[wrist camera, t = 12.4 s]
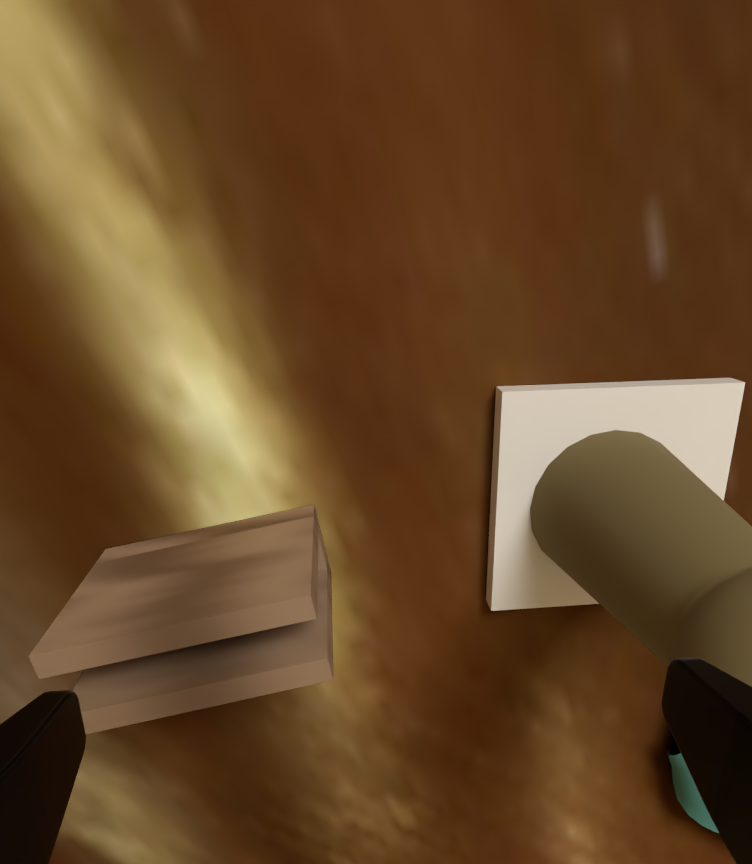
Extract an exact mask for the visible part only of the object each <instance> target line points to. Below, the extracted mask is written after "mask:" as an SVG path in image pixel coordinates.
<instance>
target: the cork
mask: <svg viewBox="0 0 752 864" xmlns="http://www.w3.org/2000/svg"><path fill="white" fill-rule="evenodd" d="M530 515H531V525H532V532H533V534H534V536H535V538H536V540H537V542H538V544H539V546H540V548H541V550H542V551H543V552H544V553H545V554H546V555H547V556H548V557H549V558H550V559H551V560H553V561H554V562H555V563H556V564H557V565H558V566H559V567H560V568H561V569H562V570H563V571H564V572H565V573H567V574H568V575H569V576H570V577H571V578H572V579H573V580H574V581H575V582H576V583H577V584H578V585H580V586H581V587H582V588H583V589H584V590H585V591H586V592H587V593H588V594H589V595H590V596H591V597H593V598H594V599H595V600H596V601H597V602H598V603H599V604H600V605H601V606H602V607H603V608H604V609H606V610H607V611H608V612H609V613H610V614H611V615H612V616H613V617H614V618H615V619H616V620H617V621H619V622H620V623H621V624H622V625H623V626H624V627H625V628H626V629H627V630H628V631H629V632H630V633H631V634H633V635H634V636H635V637H636V638H637V639H638V640H639V641H640V642H641V643H642V644H643V645H644V646H646V647H647V648H648V649H649V650H650V651H651V652H652V653H653V654H654V655H655V656H656V657H657V658H659V659H660V660H661V661H662V662H663V663H664V664H665V665H666V666H667V667H668V665H669V663H670V661H671V660H673V659H675V658H689V657H697V658H700V659H702V660H704V661H706V662H708V663H710V664H712V665H713V666H715V667H717V668H719V669H720V670H722V671H724V672H726V673H728V674H729V675H731V676H733V677H735V678H737V679H738V680H740V681H742V682H744V683H746V684H747V685H749V686H751V687H752V527H751V526H750V525H749V524H748V523H747V522H746V521H745V520H744V519H743V518H742V517H741V516H740V515H738V514H737V513H736V512H735V511H734V510H733V509H732V508H731V507H730V506H729V505H728V504H727V503H725V502H724V501H723V500H722V499H721V498H720V497H719V496H718V495H717V494H716V493H715V492H713V491H712V490H711V489H710V488H709V487H708V486H707V485H706V484H705V483H704V482H703V481H702V480H700V479H699V478H698V477H697V476H696V475H695V474H694V473H693V472H692V471H691V470H690V469H689V468H687V467H686V466H685V465H684V464H683V463H682V462H681V461H680V460H679V459H678V458H677V457H676V456H674V455H673V454H672V453H671V452H670V451H669V450H668V449H667V448H666V447H665V446H664V445H662V444H661V443H660V442H658V441H656V440H654V439H652V438H650V437H648V436H646V435H644V434H642V433H639V432H630V431H621V430H613V431H608V432H603V433H598V434H593V435H590V436H588V437H586V438H584V439H582V440H580V441H578V442H576V443H574V444H572V445H570V446H568V447H567V448H566V449H565V450H564V451H563V452H562V453H560V454H559V455H558V456H557V457H556V458H555V459H554V460H553V461H552V462H551V463H550V464H549V465H548V466H547V468H546V470H545V471H544V473H543V475H542V476H541V478H540V480H539V481H538V483H537V485H536V486H535V490H534V495H533V499H532V503H531V507H530Z"/></svg>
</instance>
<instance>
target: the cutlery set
mask: <svg viewBox="0 0 752 864" xmlns="http://www.w3.org/2000/svg"><path fill="white" fill-rule="evenodd" d="M667 754H668V757H669V760H670V763H671V766H672V778H673V785H674V789H675V793H676V797H677V800H678V801H679V803H680V804H681V806H682V807H683V808H684V810H685V811H686V813H687V814H688V815H689V816H690V817H691V818H693V819H694V820H695V821H696V822H698V823H699V824H700V825H701V826H703V827H705V828H707V829H710V830H712V831H714V832H716V833H719V832H718V830H717V828H716V826H715V824H714V822H713V821H712V819H711V817H710V815H709V813H708V811H707V809H706V806H705V804H704V802H703V800H702V798H701V796H700V794H699V792H698V789H697V787H696V785H695V783H694V781H693V778H692V776H691V774H690V772H689V770H688V767H687V765H686V763H685V761H684V759H683V756H682V754H681V753H680V754H677V755H670V750H669V751H668V752H667Z"/></svg>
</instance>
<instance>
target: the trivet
mask: <svg viewBox="0 0 752 864" xmlns="http://www.w3.org/2000/svg"><path fill="white" fill-rule="evenodd" d="M744 386H745V382H742V381H739V380H736V379H733V378H712V379H685V380H658V381H631V382H604V383H578V384H551V385H524V386H497V387H496V397H495V418H494V439H493V460H492V481H491V503H490V524H489V545H488V566H487V587H486V601H487V603H488V605H489V607H490V609H491V611H498V610H513V609H528V608H543V607H558V606H573V605H588V604H599V603H598V602H597V601H596V600H595V599H594V598H593V597H591V596H590V595H589V594H588V593H587V592H586V591H585V590H584V589H583V588H582V587H581V586H580V585H578V584H577V583H576V582H575V581H574V580H573V579H572V578H571V577H570V576H569V575H568V574H567V573H565V572H564V571H563V570H562V569H561V568H560V567H559V566H558V565H557V564H556V563H555V562H554V561H553V560H551V559H550V558H549V557H548V556H547V555H546V554H545V553H544V552H543V551H542V550H541V548H540V546H539V544H538V542H537V540H536V538H535V536H534V534H533V532H532V525H531V515H530V507H531V503H532V499H533V495H534V490H535V486H536V485H537V483H538V481H539V480H540V478H541V476H542V475H543V473H544V471H545V470H546V468H547V466H548V465H549V464H550V463H551V462H552V461H553V460H554V459H555V458H556V457H557V456H558V455H559V454H560V453H562V452H563V451H564V450H565V449H566V448H567V447H568V446H570V445H572V444H574V443H576V442H578V441H580V440H582V439H584V438H586V437H588V436H590V435H593V434H598V433H603V432H608V431H613V430H621V431H630V432H639V433H642V434H644V435H646V436H648V437H650V438H652V439H654V440H656V441H658V442H660V443H661V444H662V445H664V446H665V447H666V448H667V449H668V450H669V451H670V452H671V453H672V454H673V455H674V456H676V457H677V458H678V459H679V460H680V461H681V462H682V463H683V464H684V465H685V466H686V467H687V468H689V469H690V470H691V471H692V472H693V473H694V474H695V475H696V476H697V477H698V478H699V479H700V480H702V481H703V482H704V483H705V484H706V485H707V486H708V487H709V488H710V489H711V490H712V491H713V492H715V493H716V494H717V495H718V496H719V497H720V498H721V499H722V500H723V501H724V496H725V490H726V485H727V479H728V474H729V468H730V463H731V457H732V452H733V446H734V441H735V435H736V430H737V425H738V419H739V414H740V408H741V403H742V397H743V392H744Z"/></svg>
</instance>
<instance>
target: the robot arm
mask: <svg viewBox="0 0 752 864" xmlns="http://www.w3.org/2000/svg"><path fill="white" fill-rule="evenodd" d="M662 709H663V713H664V717H665V719H666V721H667V724H668V726H669V728H670V730H671V732H672V735H673V737H674V739H675V741H676V743H677V746H678V748H679V750H680V752H681V754H682V756H683V759H684V761H685V763H686V765H687V767H688V770H689V772H690V774H691V776H692V778H693V781H694V783H695V785H696V787H697V789H698V792H699V794H700V796H701V798H702V800H703V802H704V804H705V806H706V809H707V811H708V813H709V815H710V817H711V819H712V821H713V822H714V824H715V826H716V828H717V830H718V832H719V833H720V835H721V837H722V839H723V841H724V842H725V844H726V846H727V848H728V849H729V851H730V853H731V855H732V856H733V858H734V860H735V862H736V863H737V864H752V687H751V686H749V685H747V684H746V683H744V682H742V681H740V680H738V679H737V678H735V677H733V676H731V675H729V674H728V673H726V672H724V671H722V670H720V669H719V668H717V667H715V666H713V665H712V664H710V663H708V662H706V661H704V660H702V659H700V658H697V657H689V658H675V659H673V660H671V661H670V663H669V665H668V669H667V674H666V680H665V685H664V691H663V696H662ZM85 743H86V734H85V728H84V723H83V718H82V713H81V709H80V704H79V699H78V696H77V694H76V693H75V692H73V691H70V690H68V691H50V692H45V693H43V694H42V695H40V696H38V697H37V698H36V699H34V700H33V701H32V702H30V703H29V704H28V705H26V706H25V707H24V708H22V709H21V710H19V711H18V712H17V713H15V714H14V715H13V716H11V717H10V718H9V719H7V720H6V721H5V722H3V723H2V724H0V864H48V863H49V860H50V857H51V854H52V852H53V849H54V846H55V842H56V839H57V836H58V833H59V830H60V827H61V823H62V820H63V817H64V814H65V811H66V808H67V804H68V801H69V798H70V795H71V792H72V788H73V785H74V782H75V779H76V776H77V773H78V769H79V766H80V763H81V760H82V757H83V753H84V750H85Z"/></svg>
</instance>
